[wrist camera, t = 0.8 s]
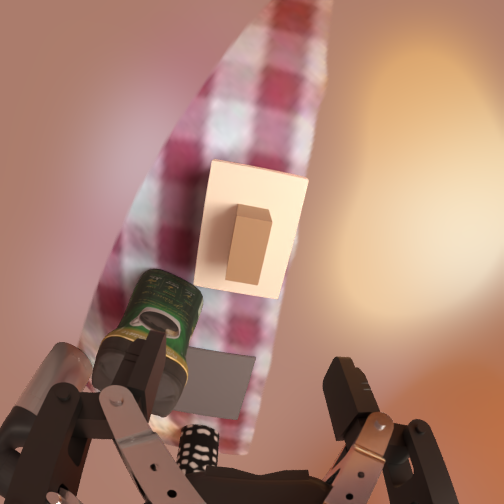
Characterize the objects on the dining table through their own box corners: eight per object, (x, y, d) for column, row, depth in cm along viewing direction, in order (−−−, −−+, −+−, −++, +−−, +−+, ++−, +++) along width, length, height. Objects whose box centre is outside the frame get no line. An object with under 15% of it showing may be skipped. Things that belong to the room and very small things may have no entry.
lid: (276, 290, 34) (282, 322, 28) (196, 276, 33) (186, 307, 27) (304, 177, 29) (320, 187, 23) (214, 159, 28) (205, 164, 22)
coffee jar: (132, 302, 40) (80, 394, 22) (148, 258, 37) (87, 348, 20) (190, 329, 42) (166, 432, 24) (212, 289, 39) (192, 395, 22)
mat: (237, 418, 50) (237, 419, 50) (162, 406, 49) (162, 407, 49) (255, 356, 44) (255, 358, 43) (162, 341, 42) (161, 342, 42)
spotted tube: (174, 427, 52) (160, 505, 34) (206, 421, 51) (198, 506, 32) (194, 444, 55) (186, 517, 36) (225, 439, 54) (222, 516, 35)
